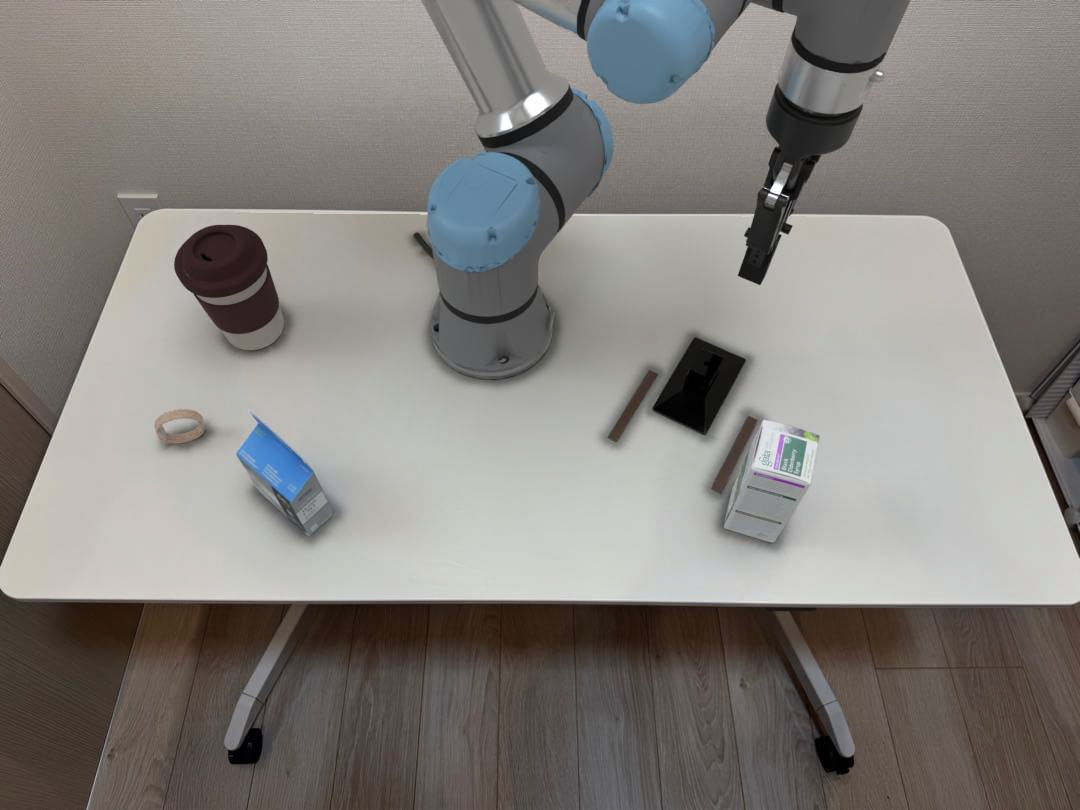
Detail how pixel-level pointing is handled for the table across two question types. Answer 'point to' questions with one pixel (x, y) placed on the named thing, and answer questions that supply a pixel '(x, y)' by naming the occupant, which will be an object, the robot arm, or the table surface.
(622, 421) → the strips
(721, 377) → the build plate
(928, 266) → the table surface
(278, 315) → the coffee cup
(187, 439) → the beige hollow ring
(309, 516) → the label tape box
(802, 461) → the syrup box
